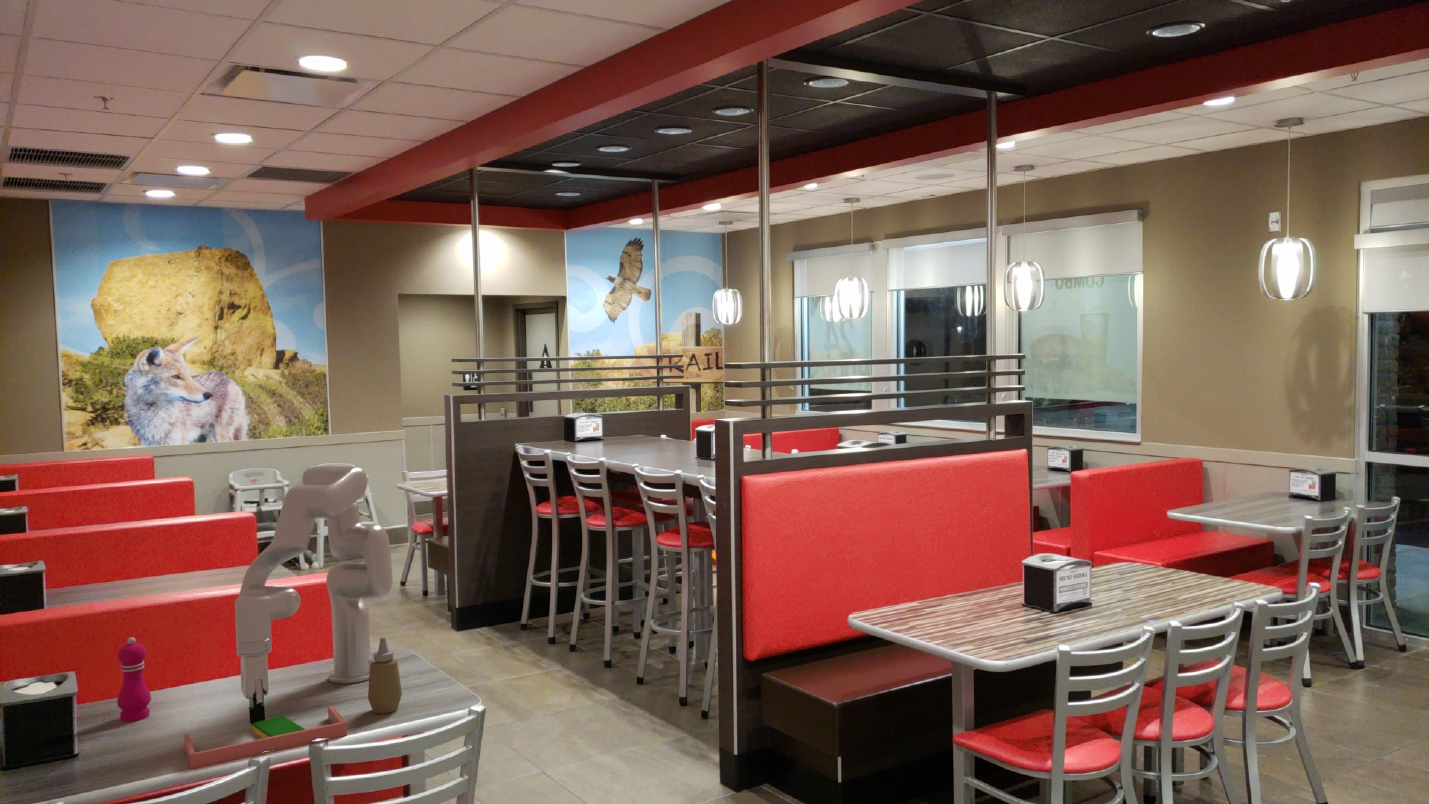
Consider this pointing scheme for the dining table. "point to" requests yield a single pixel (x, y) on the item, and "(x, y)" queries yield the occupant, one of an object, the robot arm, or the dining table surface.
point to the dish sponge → (275, 727)
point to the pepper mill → (133, 683)
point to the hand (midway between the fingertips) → (257, 722)
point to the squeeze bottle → (384, 681)
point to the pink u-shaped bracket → (265, 743)
